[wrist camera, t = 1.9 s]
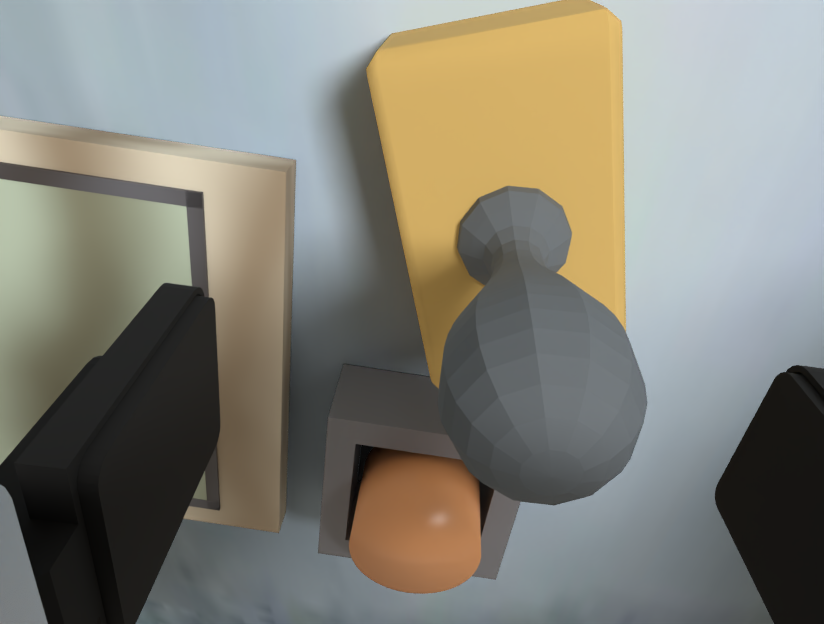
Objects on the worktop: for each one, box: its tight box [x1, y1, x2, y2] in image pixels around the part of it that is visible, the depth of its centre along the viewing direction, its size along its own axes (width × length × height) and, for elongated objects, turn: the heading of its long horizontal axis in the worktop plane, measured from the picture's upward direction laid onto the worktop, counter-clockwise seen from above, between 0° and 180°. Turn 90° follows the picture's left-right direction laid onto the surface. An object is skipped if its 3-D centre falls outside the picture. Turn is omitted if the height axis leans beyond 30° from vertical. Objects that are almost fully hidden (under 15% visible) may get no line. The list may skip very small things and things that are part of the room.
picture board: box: [0, 116, 296, 533], centre depth 22 cm, size 15×16×1 cm
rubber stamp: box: [366, 0, 647, 505], centre depth 14 cm, size 10×6×12 cm, turn 10°
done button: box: [349, 447, 481, 594], centre depth 22 cm, size 4×4×4 cm
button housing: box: [318, 364, 520, 580], centre depth 23 cm, size 7×7×3 cm
